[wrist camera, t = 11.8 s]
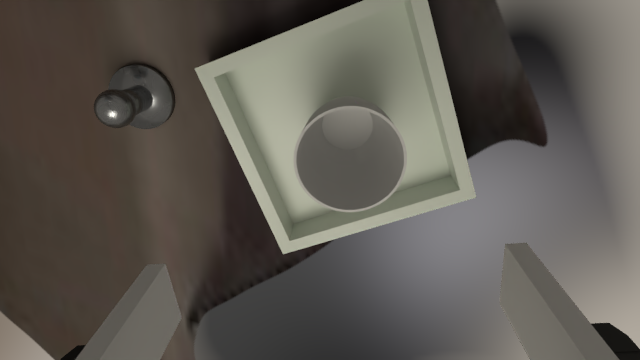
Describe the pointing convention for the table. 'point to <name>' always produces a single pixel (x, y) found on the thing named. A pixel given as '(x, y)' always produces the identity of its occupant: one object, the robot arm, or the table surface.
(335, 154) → the cup
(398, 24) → the bin
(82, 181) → the table surface
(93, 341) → the robot arm
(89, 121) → the table surface
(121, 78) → the stud post
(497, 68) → the table surface
